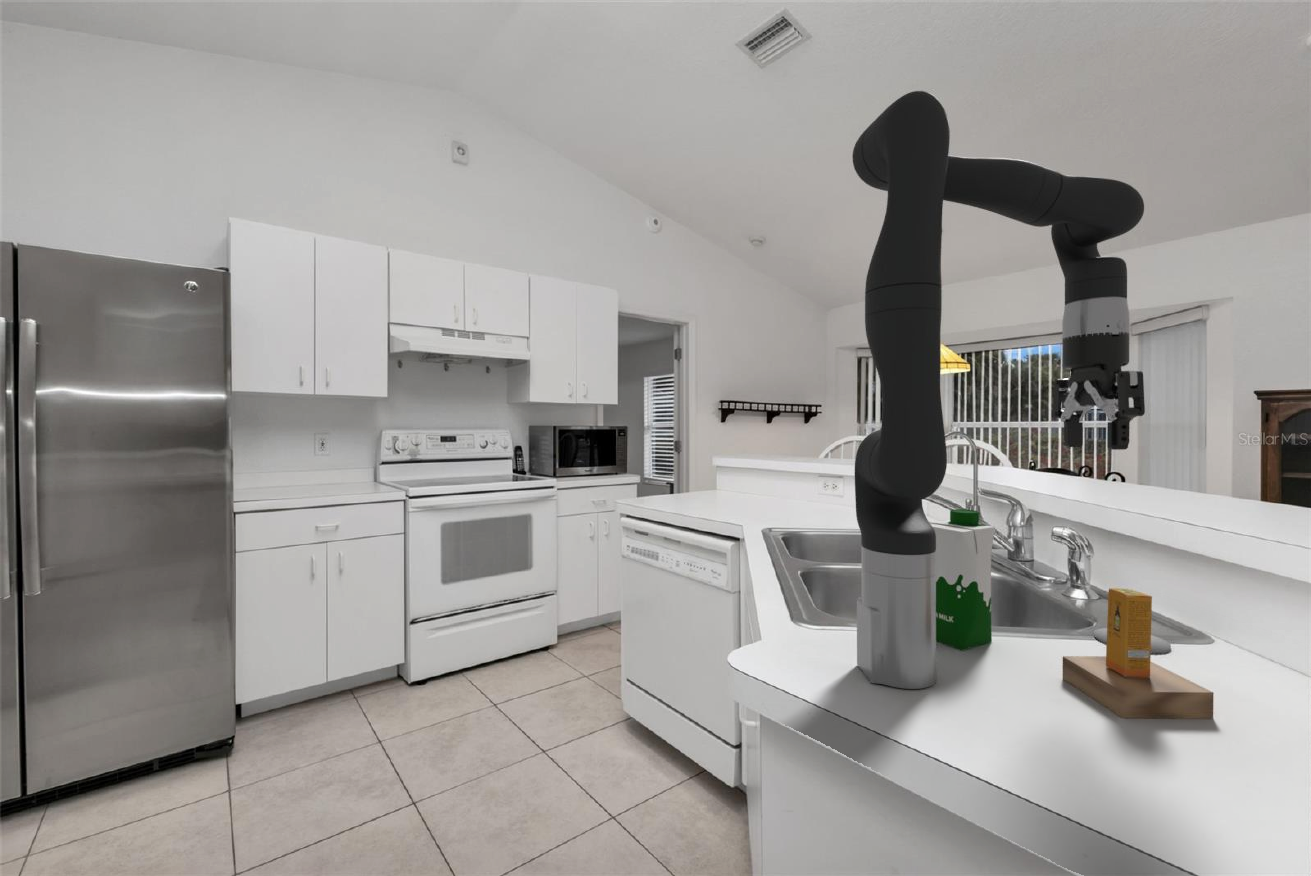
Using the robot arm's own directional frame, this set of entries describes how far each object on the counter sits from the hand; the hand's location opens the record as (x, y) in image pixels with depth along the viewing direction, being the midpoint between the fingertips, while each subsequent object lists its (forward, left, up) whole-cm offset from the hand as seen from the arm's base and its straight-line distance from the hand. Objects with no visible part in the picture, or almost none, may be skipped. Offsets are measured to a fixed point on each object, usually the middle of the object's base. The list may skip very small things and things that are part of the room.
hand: (1094, 448), depth 80 cm
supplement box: (-4, -12, -27) cm, 30 cm away
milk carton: (-16, +7, -30) cm, 35 cm away
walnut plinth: (-4, -12, -30) cm, 33 cm away
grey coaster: (+10, +6, -30) cm, 32 cm away
